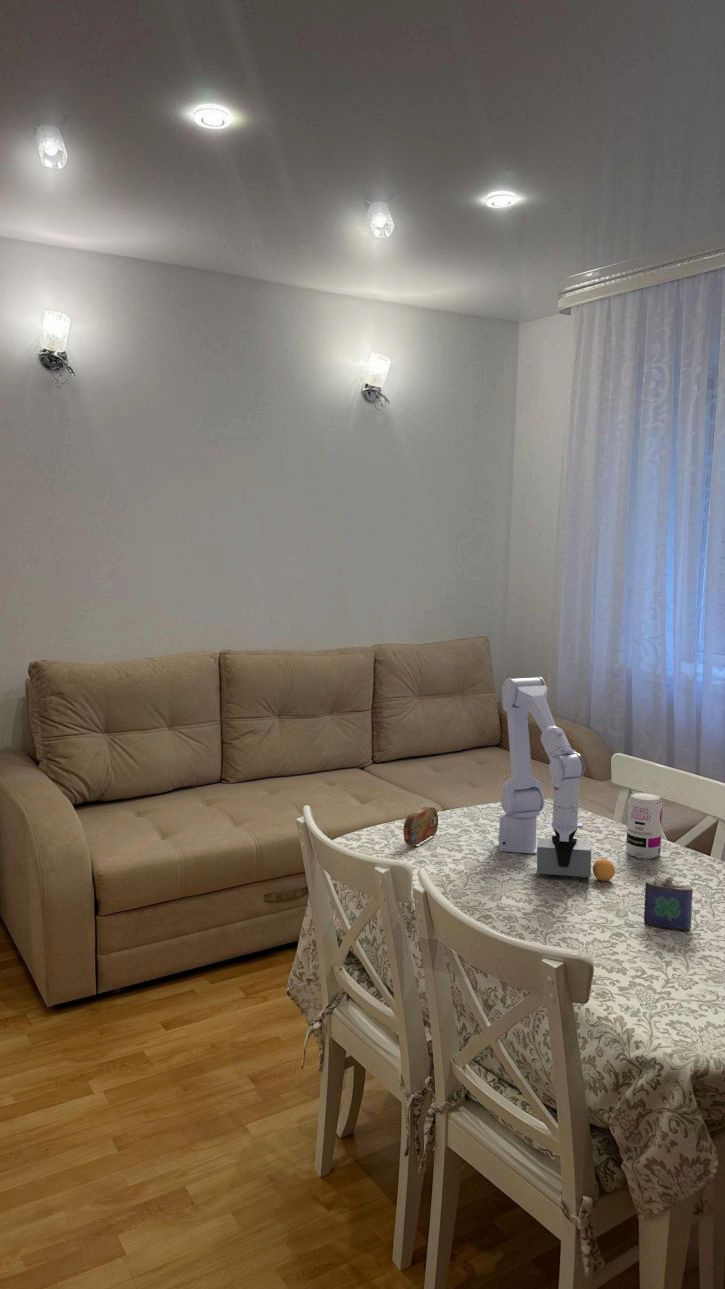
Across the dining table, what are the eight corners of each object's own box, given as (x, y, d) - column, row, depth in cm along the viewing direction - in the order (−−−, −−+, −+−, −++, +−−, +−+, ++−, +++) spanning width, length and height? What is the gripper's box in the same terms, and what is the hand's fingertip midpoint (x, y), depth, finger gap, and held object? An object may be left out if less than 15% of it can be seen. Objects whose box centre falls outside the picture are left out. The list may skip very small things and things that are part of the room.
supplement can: (656, 849, 232) (658, 791, 230) (663, 860, 224) (666, 801, 222) (623, 847, 233) (625, 791, 231) (629, 859, 225) (632, 800, 223)
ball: (609, 861, 208) (617, 881, 208) (610, 853, 212) (618, 872, 213) (588, 866, 209) (596, 886, 210) (590, 859, 214) (598, 878, 214)
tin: (411, 851, 230) (412, 819, 229) (401, 849, 232) (401, 817, 231) (439, 834, 243) (439, 804, 242) (428, 832, 245) (429, 802, 244)
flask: (691, 927, 186) (693, 877, 185) (690, 933, 184) (692, 882, 182) (644, 920, 190) (646, 871, 188) (642, 926, 187) (644, 876, 186)
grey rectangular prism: (536, 873, 212) (537, 847, 211) (538, 864, 218) (538, 838, 217) (590, 877, 209) (591, 850, 208) (590, 867, 215) (590, 841, 214)
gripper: (583, 815, 204) (581, 873, 205) (583, 797, 218) (581, 852, 219) (551, 813, 205) (549, 871, 207) (553, 795, 219) (551, 849, 221)
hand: (563, 861), depth 213 cm, fingers closed on grey rectangular prism, 6 cm apart
